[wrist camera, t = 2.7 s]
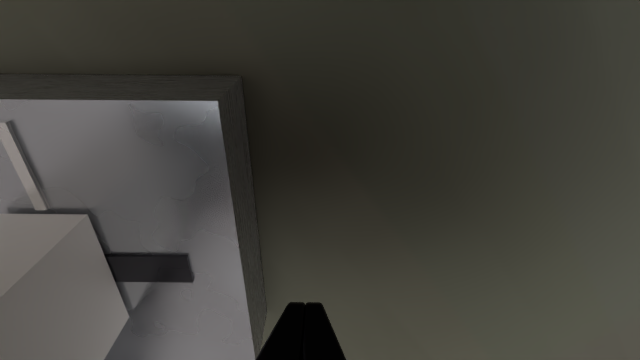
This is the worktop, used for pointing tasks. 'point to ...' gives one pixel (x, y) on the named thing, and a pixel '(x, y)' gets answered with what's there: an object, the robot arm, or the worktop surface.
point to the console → (148, 199)
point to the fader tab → (56, 290)
